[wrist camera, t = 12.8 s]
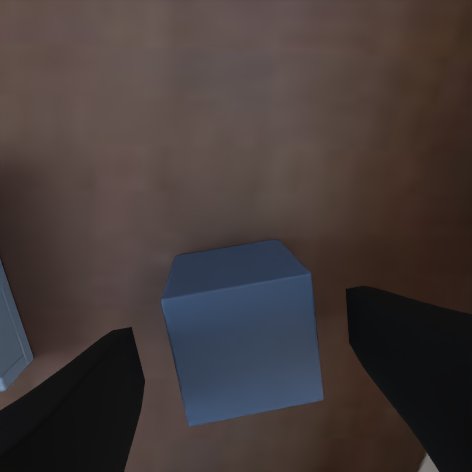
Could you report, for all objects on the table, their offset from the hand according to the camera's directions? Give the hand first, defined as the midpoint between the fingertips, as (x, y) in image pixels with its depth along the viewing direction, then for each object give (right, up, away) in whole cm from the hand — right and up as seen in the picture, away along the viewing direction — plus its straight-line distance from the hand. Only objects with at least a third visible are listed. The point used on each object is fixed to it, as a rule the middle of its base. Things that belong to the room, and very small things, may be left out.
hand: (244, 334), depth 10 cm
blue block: (0, +1, +3) cm, 3 cm away
